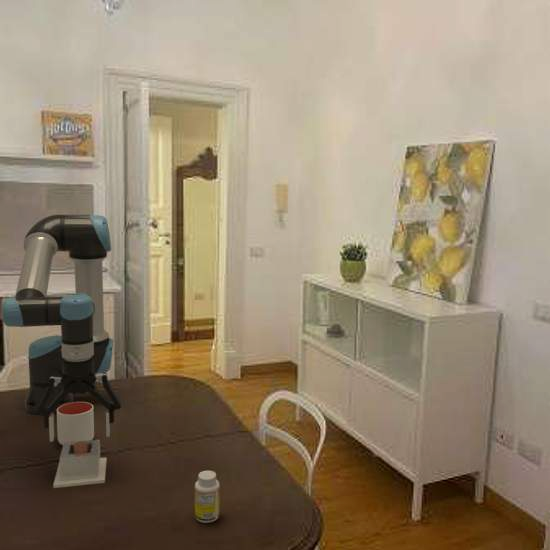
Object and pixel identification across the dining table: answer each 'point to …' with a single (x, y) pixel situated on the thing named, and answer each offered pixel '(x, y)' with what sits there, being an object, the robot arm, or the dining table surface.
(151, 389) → the dining table surface
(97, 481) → the peg stand
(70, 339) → the robot arm
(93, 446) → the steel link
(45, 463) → the dining table surface
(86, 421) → the cup
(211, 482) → the supplement bottle
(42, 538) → the dining table surface
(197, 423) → the dining table surface
